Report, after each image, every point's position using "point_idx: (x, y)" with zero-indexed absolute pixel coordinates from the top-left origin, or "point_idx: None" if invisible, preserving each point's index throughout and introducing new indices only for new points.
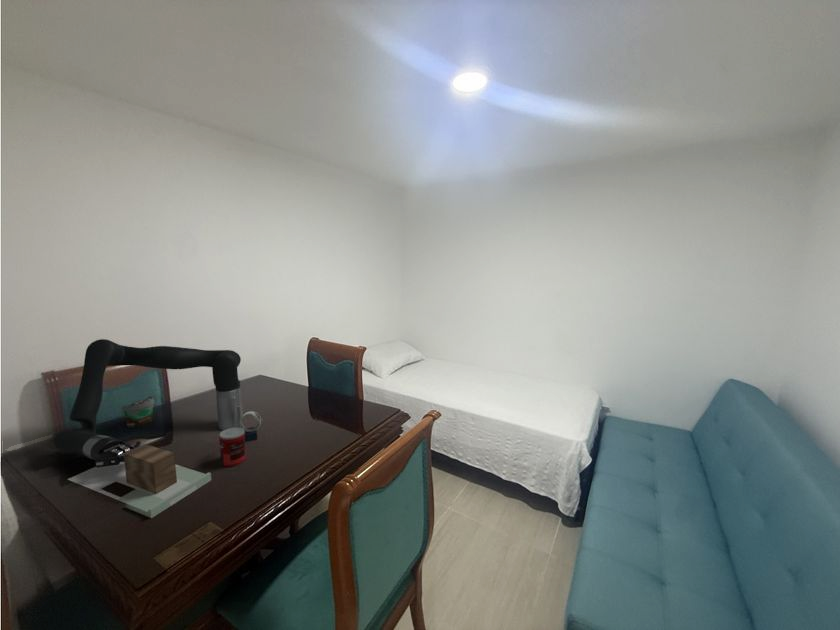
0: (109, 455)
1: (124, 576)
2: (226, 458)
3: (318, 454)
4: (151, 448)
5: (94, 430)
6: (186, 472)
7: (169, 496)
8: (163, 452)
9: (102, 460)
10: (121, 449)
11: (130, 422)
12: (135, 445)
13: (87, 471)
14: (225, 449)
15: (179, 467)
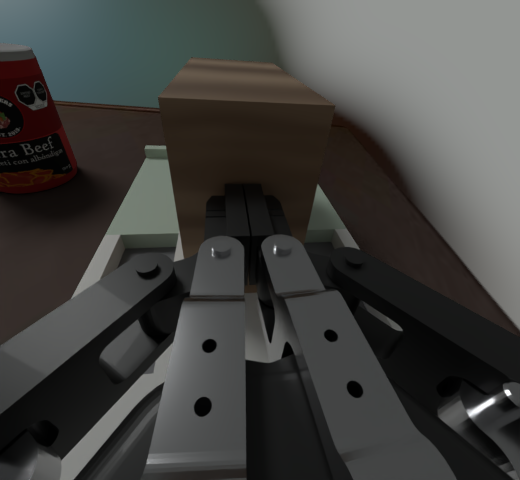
0: (438, 422)
1: (355, 137)
2: (67, 142)
3: None
4: (197, 76)
5: None
6: (147, 193)
7: None
8: (204, 62)
9: (500, 334)
10: (243, 440)
11: None
12: (33, 376)
13: None
14: (53, 106)
15: (119, 226)
